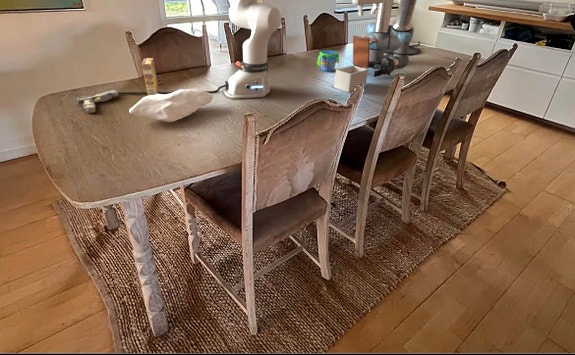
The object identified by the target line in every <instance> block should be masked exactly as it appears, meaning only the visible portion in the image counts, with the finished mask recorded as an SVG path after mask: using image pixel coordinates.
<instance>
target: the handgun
mask: <svg viewBox="0 0 575 355" xmlns="http://www.w3.org/2000/svg"><path fill="white" fill-rule="evenodd" d="M119 96H120V94H118V91H117V90H116V89H112V90H108V91H105V92H104V91H103V92H101V93H96V94H94V95H86V94H85V95H84V94H83V95H81V96H80V97H77V98H76V101H77V104H78V105H82V108H83V109H84V110H85V113H87V114H91V113H95V112H96V104H95V103H98V102H106V101H109V100H111V99H113V98H117V97H119Z"/></svg>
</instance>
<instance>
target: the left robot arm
mask: <svg viewBox="0 0 575 355" xmlns="http://www.w3.org/2000/svg"><path fill="white" fill-rule="evenodd" d="M383 2H384V0H351V3H352V5H353V6H357V11H358V12H357V15H358V16H360V17H361V16H364V11H363V8H364V6H366V5H372V8H371V9H370V15H376V13H377V7H378V3H383ZM228 18H229V21H230V23H232V24H233V25H234V26H237V27H240V28H242V29H247V30H251V34H250V37H249V38H247V39H246V40H245V41H244V42H243V43H242V59H243V60H242V61H236V62H235V65H236V66H237V67H239V69H237V71H236V72H235V73H234V74H232V75H231V76H230V77H229V78H228V80H225V81H224V84H223V85H220V86H218V88H217V89H215V90H205V91H206V92H208V93H210V94H216V93H218V92H220V90H221V89H223V91H222V92H223V94H224V95H225V96H226V97H228V98H230V99H233V100H236V99H237V100H238V99H239V100H240V99H253V98H254V99H255V98H264V97H266V95H268V94H269V93H270V92H271V88H270V84H269V78H268V76H269V75H268V72H269V61H268V47H269V41H270V39H271V37H272V35H273V34H274V33H275V32H276V31H277V30H279V27H280V26H281V24H282V14H281V11H280V9H279V8H278V7H275V6H273V5H271V4H268V3H262V2H258V0H234V1H233V2H232V3H231V4H230V7H229V9H228ZM117 92H118V91H117ZM173 92H174V91H159V92H158V94H164V95H167V94H171V93H173ZM118 94H119V95H148V93H147V91H120V92H118Z"/></svg>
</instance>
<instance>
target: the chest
mask: <svg viewBox="0 0 575 355" xmlns="http://www.w3.org/2000/svg"><path fill="white" fill-rule="evenodd" d="M368 73H369V68H368V69H367V68H361V67H357V66H354V65H353V64H352V65H348V66H345V67H341V68H337V69H335V75H334V83H333V88H334V89H338V90H339V91H343V92H346V93H351V92H355V91H354V89H355V85H356V84H358V83H363V84H364V88H366V85H367V79H368Z"/></svg>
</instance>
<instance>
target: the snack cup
mask: <svg viewBox="0 0 575 355" xmlns="http://www.w3.org/2000/svg"><path fill="white" fill-rule="evenodd" d="M339 62H340V54H339V52H338V51H336V50H331V49H325V50H324V49H323V50H320V51H319V55H318V57H317V61H316V66H318V67H320V70H321V71H323V72H327V73H329V72H330V73H331V72H334V71H335V67H336V63H337V64H339Z"/></svg>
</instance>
